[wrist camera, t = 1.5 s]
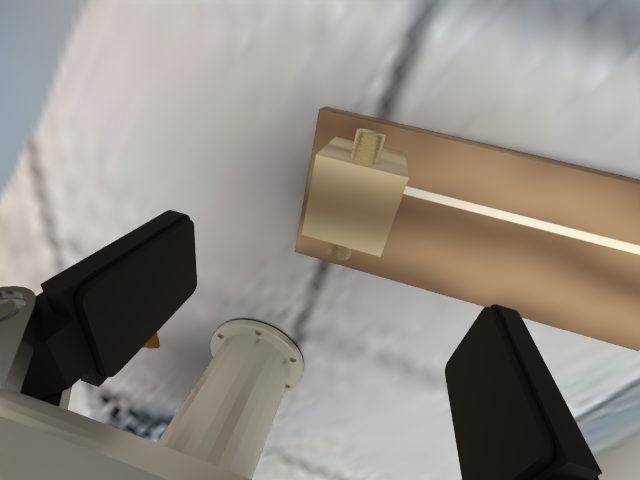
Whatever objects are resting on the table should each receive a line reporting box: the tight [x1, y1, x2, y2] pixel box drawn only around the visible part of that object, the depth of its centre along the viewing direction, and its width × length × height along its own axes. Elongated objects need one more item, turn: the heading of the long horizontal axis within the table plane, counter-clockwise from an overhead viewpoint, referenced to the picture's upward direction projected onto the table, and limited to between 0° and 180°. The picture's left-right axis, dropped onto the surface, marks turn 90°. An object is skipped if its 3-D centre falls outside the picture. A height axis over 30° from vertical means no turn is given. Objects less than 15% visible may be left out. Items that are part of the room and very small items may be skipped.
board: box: [295, 107, 640, 351], centre depth 23 cm, size 12×29×3 cm, turn 79°
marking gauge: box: [302, 128, 409, 260], centre depth 19 cm, size 8×5×6 cm, turn 169°
